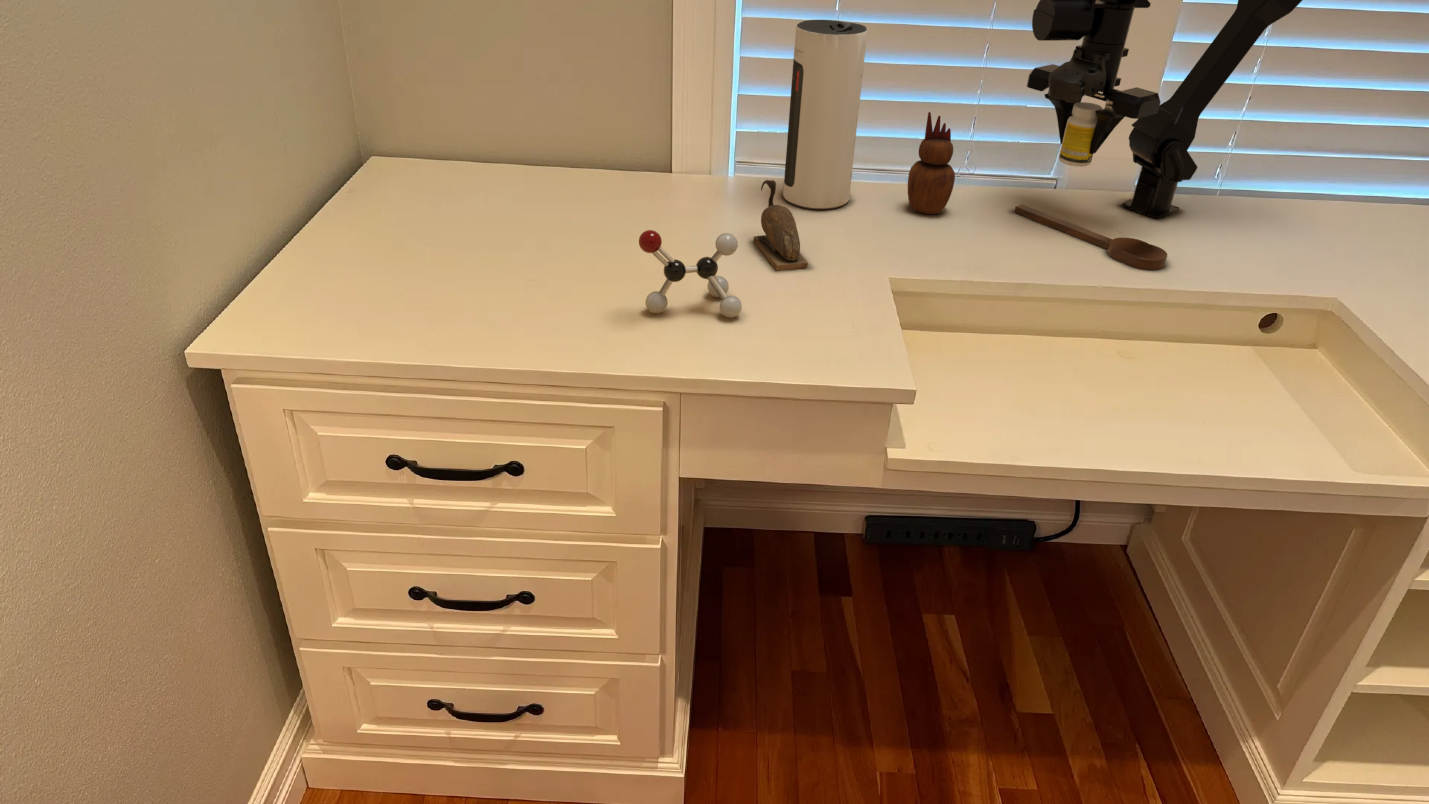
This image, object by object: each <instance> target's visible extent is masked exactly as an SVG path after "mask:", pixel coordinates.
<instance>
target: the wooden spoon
mask: <svg viewBox="0 0 1429 804" xmlns="http://www.w3.org/2000/svg"><path fill="white" fill-rule="evenodd" d="M1013 212H1014V213H1015V214H1017V215H1020V216H1023V217H1024V218H1027V219H1030V220H1032V221H1035V222H1038V223H1040V224H1042V225H1045V226H1047V227H1049V228H1052V229H1054V230H1058V231H1060V232H1063V233H1065V234H1068V235H1070V236H1073V237H1075V238H1077V239H1080V240H1083V241H1084V242H1088V243H1090V244H1092V245H1095V246H1098V247H1100V248H1102V249H1105V250H1106V252H1107V255H1108V256H1109V257H1110V258H1112V259H1113V260H1116V261H1117V262H1121V263H1124V264H1125V265H1128V266H1129V267H1133V268H1136V269H1141V270H1147V271H1155V270H1160V269H1163V268H1164V267H1165V264H1166V261H1167V258H1168V253H1167V251H1166V250H1165V249H1163V248H1161V247H1159V246H1157V245H1155V244H1151V243H1149V242H1147V241H1143V240H1141V239H1138V238H1134V237H1133V238H1132V237H1123V236H1122V237H1115V238H1111V237H1108V236H1106V235H1103V234H1100V233H1097V232H1095V231H1092V230H1090V229H1088V228H1085V227H1082V226H1080V225H1078V224H1075V223H1072V222H1070V221H1067V220H1065V219H1061V218H1059V217H1057V216H1055V215H1051V214H1049V213H1047V212H1044V211H1042V210H1039V209H1036V208H1034V207H1032V206H1029V205H1026V204H1024V203H1021V204H1018V205H1015V206H1014V210H1013Z"/></svg>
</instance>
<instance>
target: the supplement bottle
mask: <svg viewBox="0 0 1429 804" xmlns="http://www.w3.org/2000/svg"><path fill="white" fill-rule="evenodd" d="M1100 109H1103V107H1102V106H1101V105H1100V104H1097V103H1092V102H1084V101H1081V102H1079V103H1075V104H1074V106H1073V110H1072V115H1073V116H1070V117H1069V118H1068V120H1067V124H1066V129H1065V133H1064V137H1063V141H1062V144H1060V150H1059V154H1058V161H1059V162H1060V163H1062V164H1064V165H1066V166H1072V167H1087V166H1090V165H1091V163H1092V161H1093V156H1094V154H1090V153H1089V152H1090V145H1091V141H1092V138H1093V134H1094V131H1095V127H1096V123H1097V116H1096V112H1095V111H1096V110H1100Z"/></svg>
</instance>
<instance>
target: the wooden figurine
mask: <svg viewBox="0 0 1429 804" xmlns="http://www.w3.org/2000/svg"><path fill="white" fill-rule="evenodd" d="M926 119H927V120H926V125H925V132H924V138H923V139H922V140H921V142H920V144H919V147H918V158H919V159H920V160H917V161H915V162H914V164H912V165H911V166H910V169H909V172H908V177H907V199H908V203H909V206H910V207H911V209H912V210H914V211H915V212H917V213H921V214H926V215H935V214H940V213H941V212H943V211H944V209H945V208H946V206H947V205H948V202H949V200H950V198H951V195H952V192H953V189H954V185H955V180H956V172H955V170H954V169H953V167H952V165H950V164H949V163H950V162H951V161H952V158H953V155H954V145H953V143H952V139H951V138H952V134H951V133H952V132H951V131H952V130H951V128H950V127H949V128H947V123H946V122H944V123H943V124H942V126H941V115H938V116H937V119H936V122H935V125H934V127H933V121H932V113H931V111H928V112H927V118H926Z"/></svg>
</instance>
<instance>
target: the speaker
mask: <svg viewBox="0 0 1429 804" xmlns="http://www.w3.org/2000/svg"><path fill="white" fill-rule="evenodd" d="M868 30H869V29H868V27H867V26H865V25H863V24H861V23H856V22H852V21H846V20H845V21H844V20H837V19H807V20H803V21H800V22H798V23H796V25H795V35H794V36H795V37H794V49H793V58H792V59H793V61H792V75H791V88H790V98H789V99H790V101H789V114H788V127H787V140H786V152H785V153H786V154H785V166H784V178H783V190H782V191H783V192H782V196H783V198H784V200H785V201H786V202H787V203H789V204H791V205H794V206H797V207H800V208H804V209H808V210H809V209H810V210H834V209H837V208H838V209H839V208H840V207H843V206H845V205H847V203H848V202H849V200H850V198H851V189H852V188H851V187H852V179H853V168H854V160H855V159H854V158H855V148H856V141H857V140H856V139H857V129H858V121H859V113H860V112H859V111H860V103H861V93H862V85H863V78H864V77H863V76H864V66H865V56H866V50H867V49H866V48H867V39H868Z"/></svg>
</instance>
